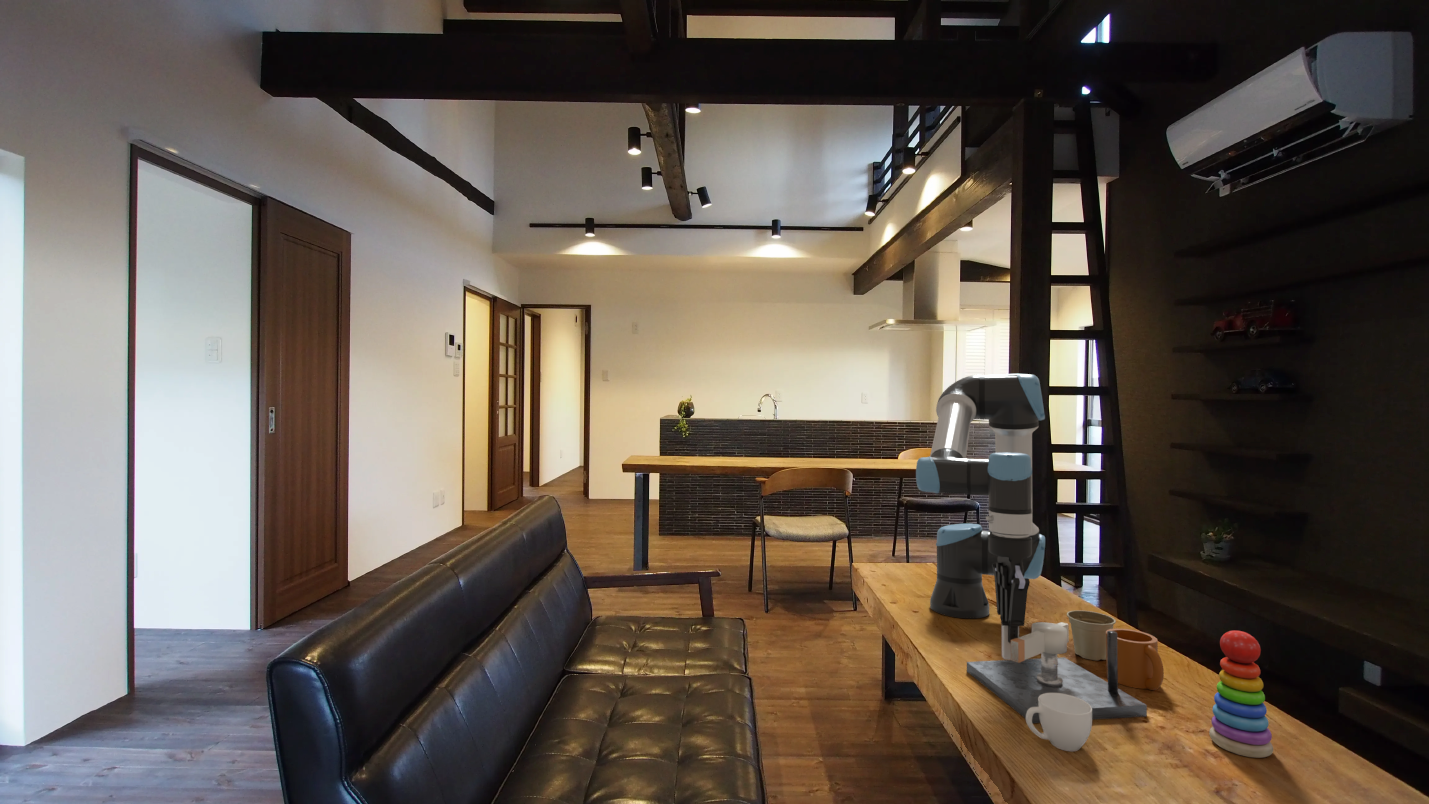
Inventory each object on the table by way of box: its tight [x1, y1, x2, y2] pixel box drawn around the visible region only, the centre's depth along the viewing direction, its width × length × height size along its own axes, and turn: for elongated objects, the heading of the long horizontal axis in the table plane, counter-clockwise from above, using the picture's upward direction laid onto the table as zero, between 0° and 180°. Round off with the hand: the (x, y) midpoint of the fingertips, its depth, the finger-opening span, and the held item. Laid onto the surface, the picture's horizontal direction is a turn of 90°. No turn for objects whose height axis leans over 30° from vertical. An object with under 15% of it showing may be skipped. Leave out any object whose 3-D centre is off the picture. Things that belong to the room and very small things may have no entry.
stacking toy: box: [1208, 630, 1274, 759], centre depth 102 cm, size 8×8×19 cm
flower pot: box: [1066, 609, 1117, 662], centre depth 140 cm, size 9×9×9 cm
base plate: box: [966, 631, 1148, 724], centre depth 122 cm, size 22×22×13 cm
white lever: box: [1011, 621, 1070, 663], centre depth 120 cm, size 18×6×4 cm, turn 124°
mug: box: [1105, 628, 1165, 691], centre depth 126 cm, size 9×12×9 cm
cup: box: [1025, 693, 1093, 752], centre depth 102 cm, size 8×10×7 cm
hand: (1010, 658), depth 119 cm, fingers closed
